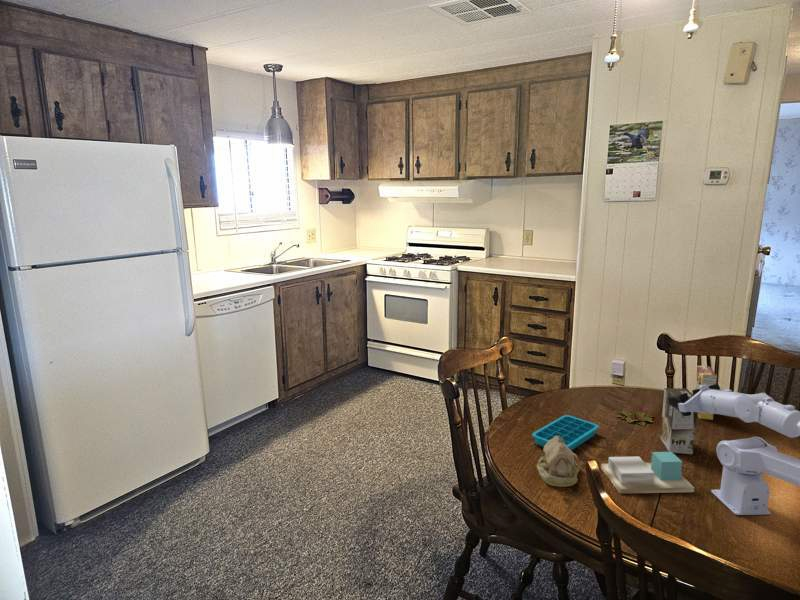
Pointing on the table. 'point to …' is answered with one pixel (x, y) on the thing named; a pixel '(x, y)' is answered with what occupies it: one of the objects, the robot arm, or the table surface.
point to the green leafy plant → (636, 416)
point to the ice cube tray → (566, 431)
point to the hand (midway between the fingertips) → (681, 397)
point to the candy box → (705, 378)
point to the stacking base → (651, 487)
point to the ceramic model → (558, 464)
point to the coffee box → (677, 425)
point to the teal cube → (666, 465)
